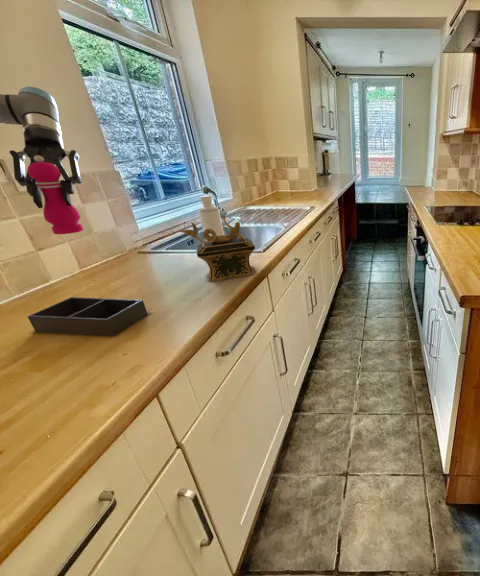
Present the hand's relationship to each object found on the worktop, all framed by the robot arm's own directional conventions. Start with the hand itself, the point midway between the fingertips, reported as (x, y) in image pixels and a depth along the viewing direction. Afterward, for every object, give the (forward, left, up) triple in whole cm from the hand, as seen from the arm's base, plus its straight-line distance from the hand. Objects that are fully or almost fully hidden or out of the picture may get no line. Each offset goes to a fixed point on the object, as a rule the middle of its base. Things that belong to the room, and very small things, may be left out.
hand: (53, 203), depth 84 cm
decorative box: (+33, +17, -26) cm, 45 cm away
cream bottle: (+20, +35, -26) cm, 48 cm away
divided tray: (+18, -16, -26) cm, 36 cm away
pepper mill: (-2, +3, -8) cm, 9 cm away
